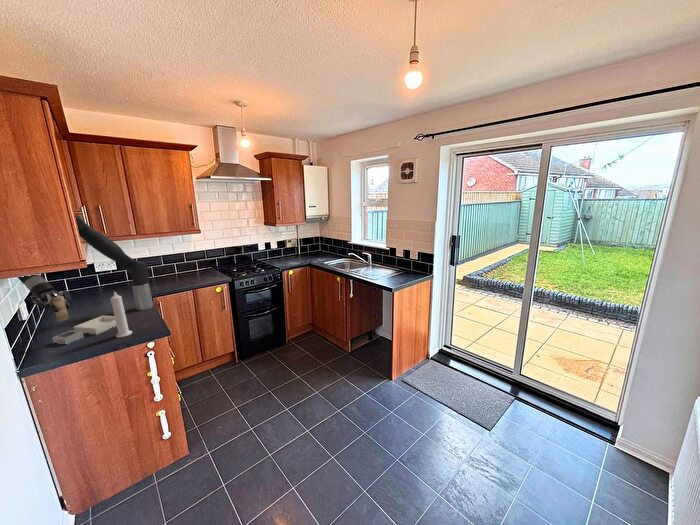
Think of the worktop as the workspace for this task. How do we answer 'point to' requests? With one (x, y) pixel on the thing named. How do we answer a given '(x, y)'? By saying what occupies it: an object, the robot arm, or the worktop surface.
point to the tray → (97, 325)
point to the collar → (68, 337)
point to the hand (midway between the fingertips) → (63, 309)
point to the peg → (60, 308)
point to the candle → (120, 316)
